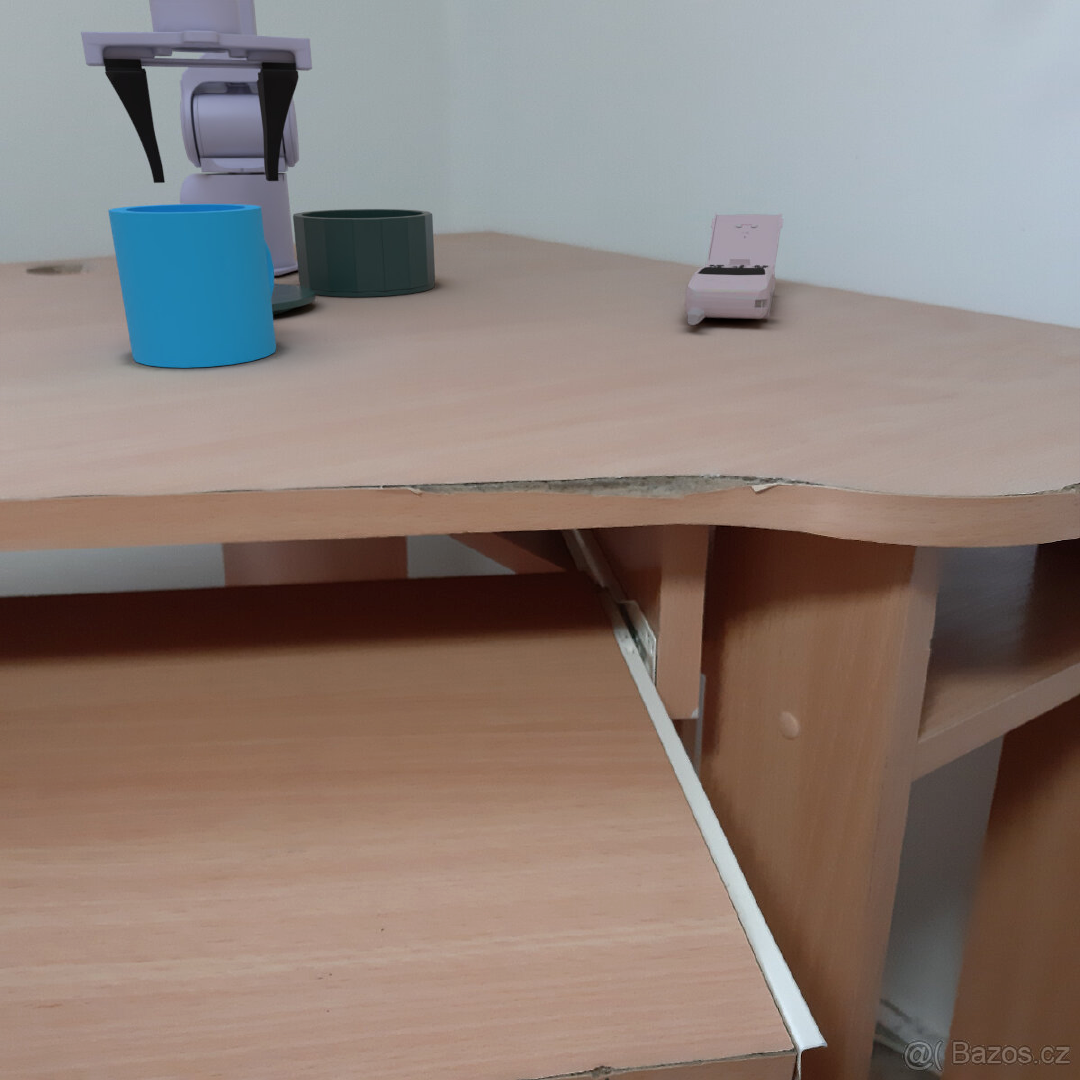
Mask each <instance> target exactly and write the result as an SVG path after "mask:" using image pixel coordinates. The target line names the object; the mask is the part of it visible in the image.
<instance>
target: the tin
mask: <svg viewBox="0 0 1080 1080" xmlns="http://www.w3.org/2000/svg"><path fill="white" fill-rule="evenodd" d="M433 219H434V217H433V213H432V212H430V211H427V210H419V209H418V210H417V209H403V208H402V209H401V208H355V209H354V208H352V209H351V208H349V209H348V208H346V209H324V210H312V211H302V212H297V213H296V212H295V213H293V215H292V220H293V222H292V223H293V232H294V242H295V243H294V244H295V251H296V261H297V264H298V270H297V272H298V284H299V286H302V287H307V288H310V289H312V290H314V291H315V296H316V295H317V296H326V297H339V298H372V297H375V298H376V297H392V296H402V295H403V296H404V295H409V294H415V293H422V292H426V291H428V290H431V289H433V288H434V287H435V282H436V268H435V266H436V265H435V245H434V244H435V242H434V220H433Z"/></svg>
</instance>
